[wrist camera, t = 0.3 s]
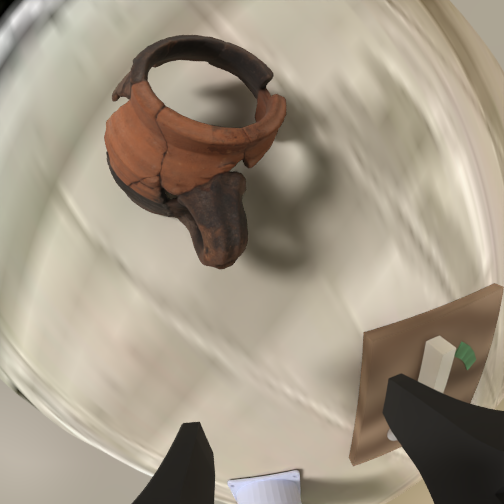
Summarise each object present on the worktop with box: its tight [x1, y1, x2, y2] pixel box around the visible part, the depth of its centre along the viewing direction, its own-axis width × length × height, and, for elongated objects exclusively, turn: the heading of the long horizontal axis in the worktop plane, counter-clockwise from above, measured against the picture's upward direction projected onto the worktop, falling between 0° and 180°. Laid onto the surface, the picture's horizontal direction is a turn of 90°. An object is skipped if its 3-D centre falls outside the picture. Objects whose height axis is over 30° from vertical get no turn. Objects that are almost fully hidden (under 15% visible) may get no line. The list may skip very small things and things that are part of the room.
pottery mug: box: [104, 35, 286, 269], centre depth 14 cm, size 12×10×8 cm
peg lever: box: [418, 336, 456, 393], centre depth 18 cm, size 13×4×3 cm, turn 8°
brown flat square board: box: [349, 283, 504, 466], centre depth 21 cm, size 18×18×2 cm
